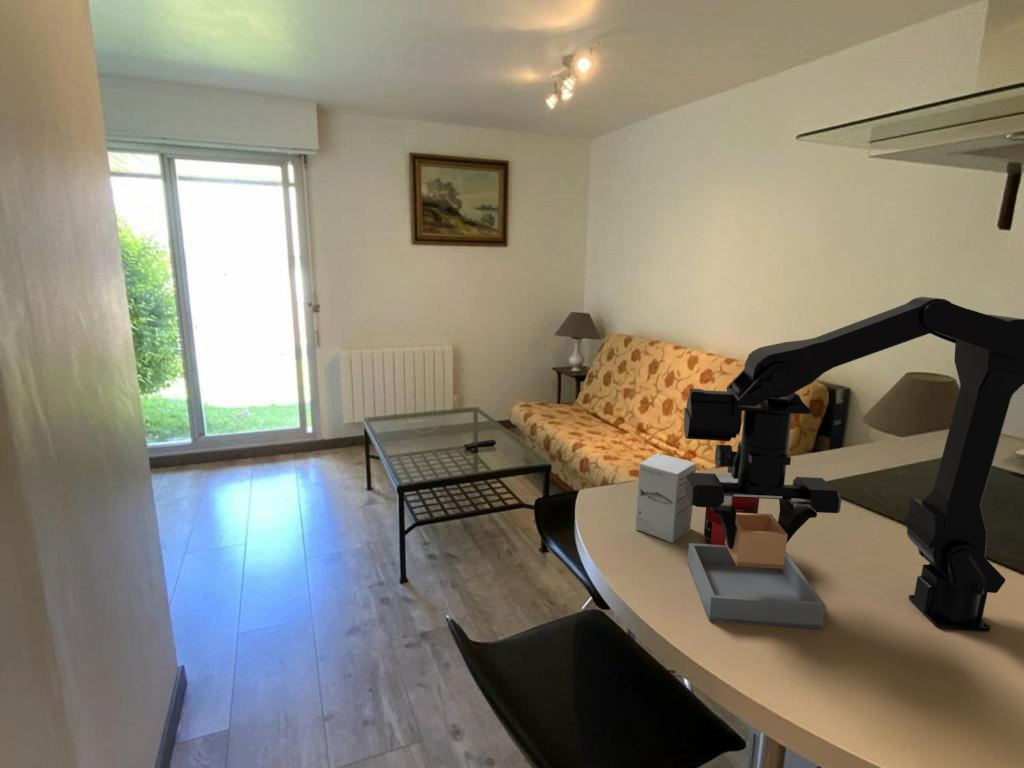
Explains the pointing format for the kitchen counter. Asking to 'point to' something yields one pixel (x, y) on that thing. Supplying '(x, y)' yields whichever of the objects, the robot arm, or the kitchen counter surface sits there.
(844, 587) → the kitchen counter surface
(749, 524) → the small crate
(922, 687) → the kitchen counter surface
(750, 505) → the canned food
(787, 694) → the kitchen counter surface
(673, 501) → the supplement box
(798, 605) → the grey square tray
